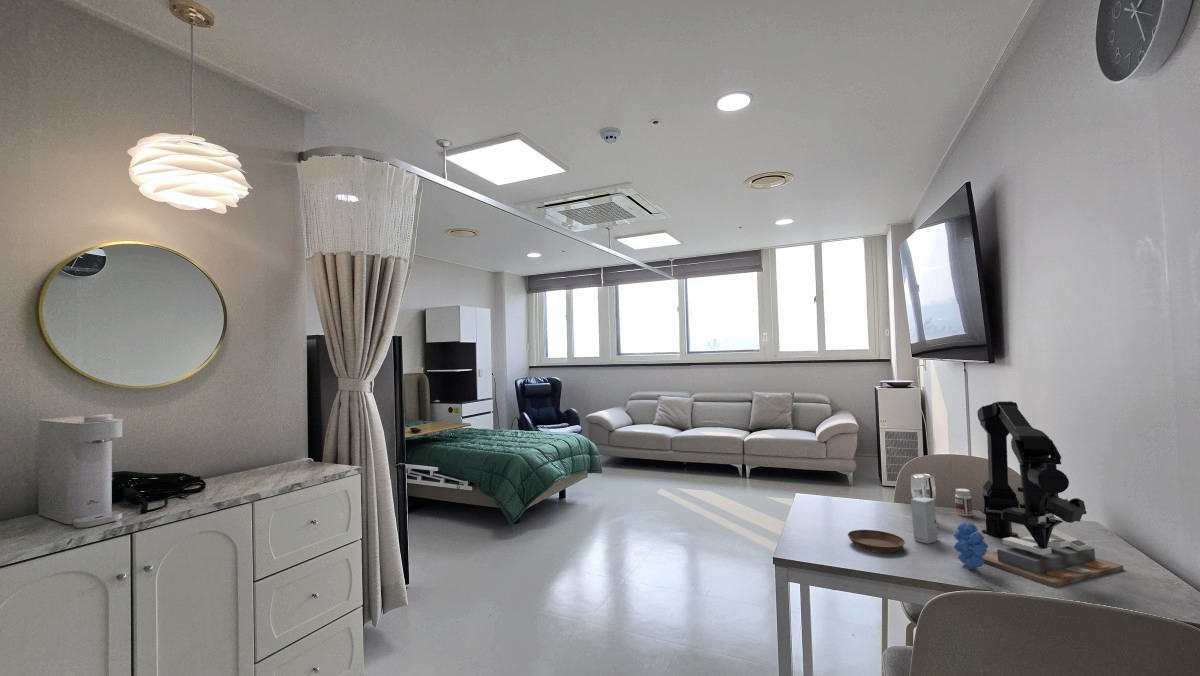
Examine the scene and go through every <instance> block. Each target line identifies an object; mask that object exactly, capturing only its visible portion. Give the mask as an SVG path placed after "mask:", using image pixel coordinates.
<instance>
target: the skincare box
mask: <svg viewBox="0 0 1200 676" xmlns="http://www.w3.org/2000/svg"><path fill="white" fill-rule="evenodd" d="M935 505H936V503H935V504H934V499H931V498H925V497H918V498H914V499H913V498H911V499H910V507H911V509H910V510H911V520H912V530H913V540H914V541H915V542H919V543H924V544H931V543H934V542H936V541H938V539H939V536H938V527H937V524H938V523H937V517H936V516H937V515H936V507H935Z"/></svg>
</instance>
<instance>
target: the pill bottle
mask: <svg viewBox="0 0 1200 676" xmlns="http://www.w3.org/2000/svg"><path fill="white" fill-rule="evenodd" d="M954 502H955V503H954V504H955V512H956V514H957V515H959V516H962V517H963V516H964V517H971V516H972V517H973V515H974V509H973V498H972V496H971V491H970V490H969V489H966V488H955V495H954Z"/></svg>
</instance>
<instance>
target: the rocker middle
mask: <svg viewBox="0 0 1200 676" xmlns="http://www.w3.org/2000/svg"><path fill="white" fill-rule="evenodd" d="M1020 539H1021V540H1025V541H1028V542H1032V543H1036V542H1035V540H1034V539H1033V537H1032V535H1030V536H1023V537H1021V538H1020ZM1036 544H1037V543H1036ZM1047 546H1051V547H1059V548H1062V547H1066V546H1070V543H1069V541H1067V540H1063V539H1049V542H1048V545H1047Z"/></svg>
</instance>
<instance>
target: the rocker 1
mask: <svg viewBox="0 0 1200 676" xmlns="http://www.w3.org/2000/svg"><path fill="white" fill-rule="evenodd" d="M1001 541H1002V544H1003V545H1006V546H1009V547H1010V546H1013V547H1017V548H1020V549H1023V550H1027V551H1030V552H1034V553H1037V554H1041V555H1044V554H1048V553H1052V551H1051V548H1050V547H1048V546H1047V548H1046V549H1043V548H1042V547H1039V546H1038V545H1037V544H1036V543H1032V542H1028V541H1025V540H1021V538H1016V537H1015V536H1013V537H1007V538H1001Z"/></svg>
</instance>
